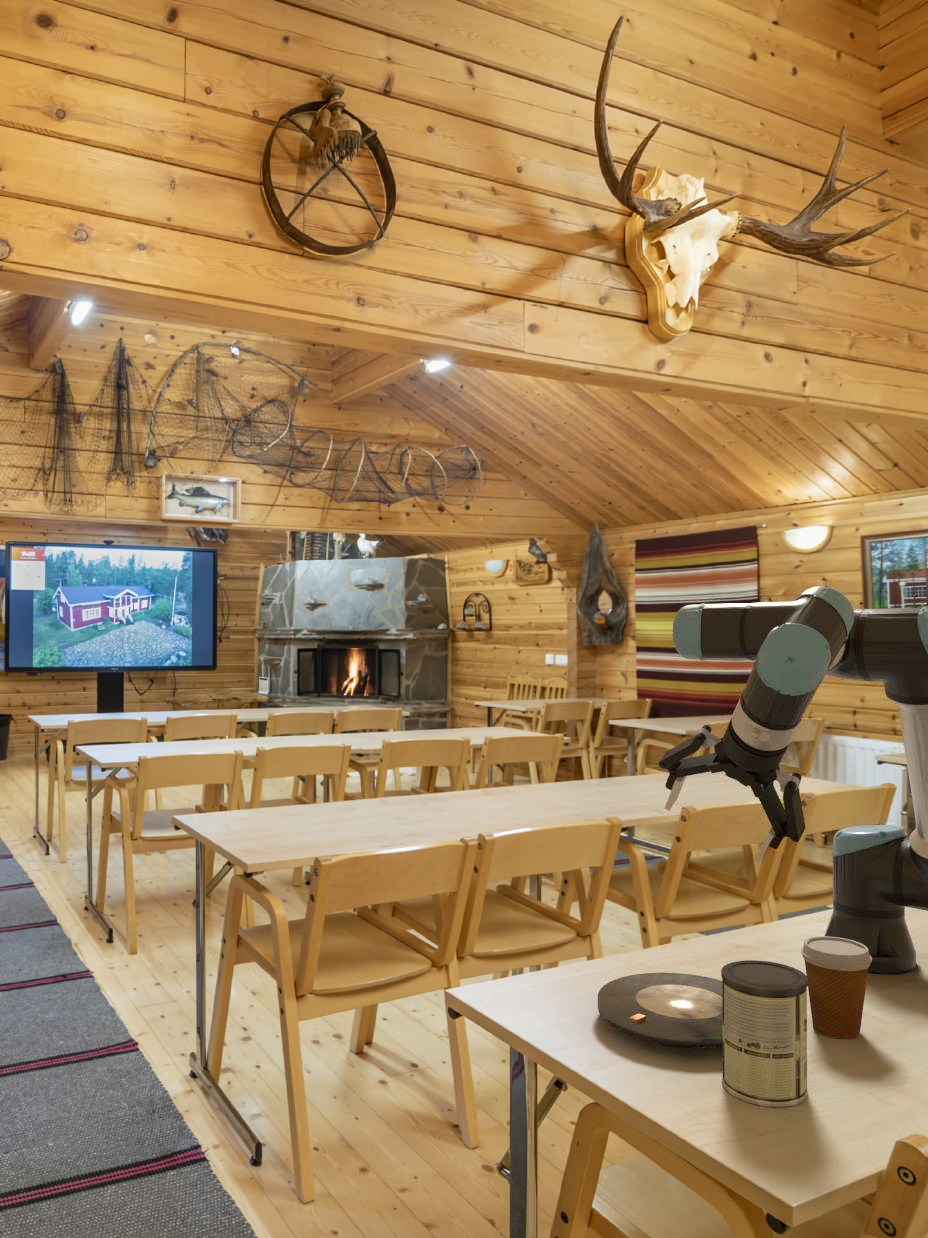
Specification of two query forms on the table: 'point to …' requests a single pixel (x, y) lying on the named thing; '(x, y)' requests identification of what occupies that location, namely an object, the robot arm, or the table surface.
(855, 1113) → the table surface
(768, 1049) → the coffee can
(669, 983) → the turntable platter
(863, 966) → the disposable coffee cup
